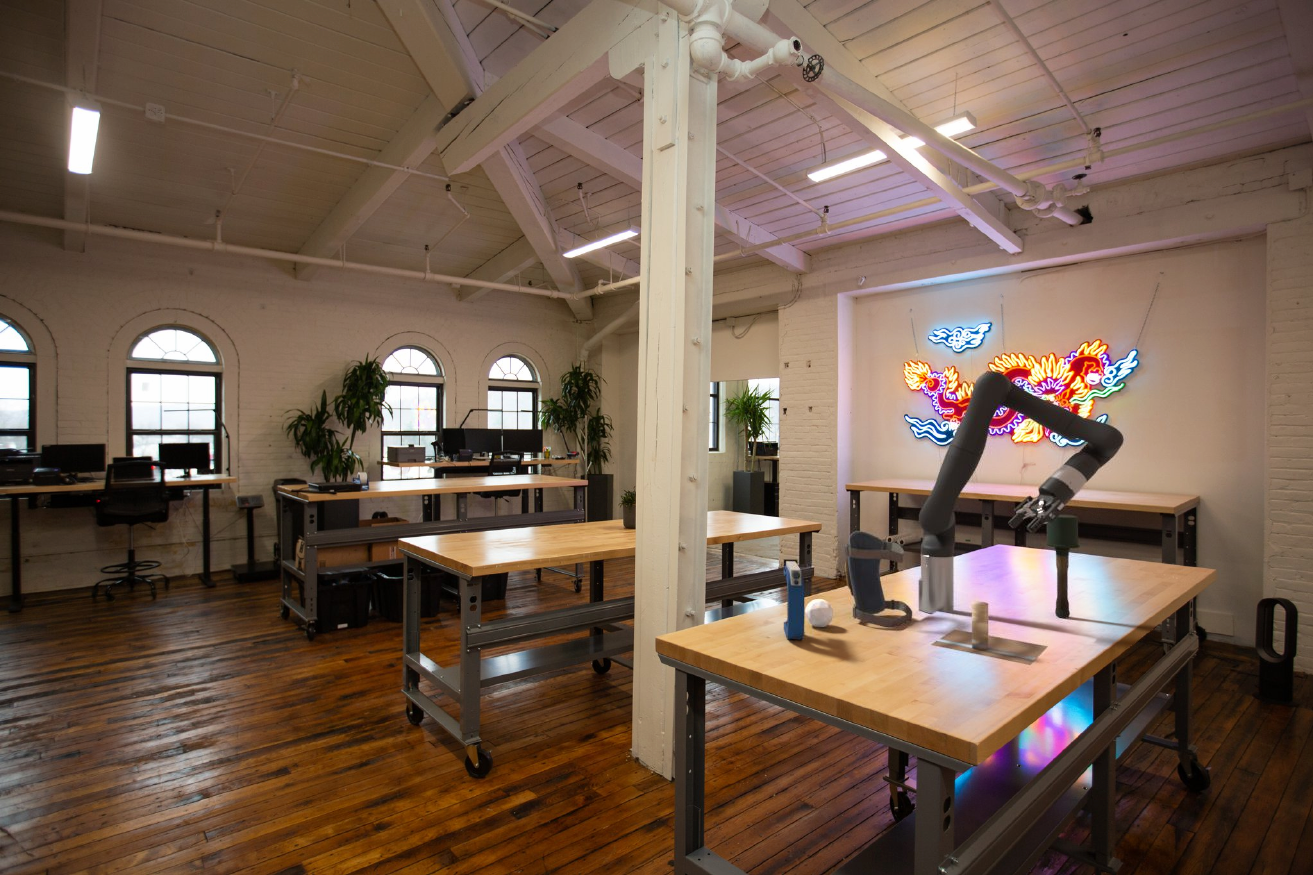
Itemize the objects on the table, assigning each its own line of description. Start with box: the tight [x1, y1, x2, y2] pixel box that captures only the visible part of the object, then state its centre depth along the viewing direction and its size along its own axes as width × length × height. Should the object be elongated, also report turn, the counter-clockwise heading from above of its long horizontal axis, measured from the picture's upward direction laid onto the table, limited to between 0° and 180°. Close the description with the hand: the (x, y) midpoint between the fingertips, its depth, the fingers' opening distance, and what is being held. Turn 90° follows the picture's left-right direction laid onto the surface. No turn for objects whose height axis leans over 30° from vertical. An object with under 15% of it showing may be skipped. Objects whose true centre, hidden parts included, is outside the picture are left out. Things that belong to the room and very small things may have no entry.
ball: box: [805, 598, 835, 628], centre depth 185 cm, size 8×8×8 cm
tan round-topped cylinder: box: [971, 600, 989, 651], centre depth 161 cm, size 4×4×11 cm
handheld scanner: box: [783, 558, 806, 640], centre depth 176 cm, size 4×16×19 cm, turn 174°
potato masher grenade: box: [1045, 514, 1080, 619], centre depth 195 cm, size 8×9×30 cm
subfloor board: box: [930, 628, 1048, 666], centre depth 163 cm, size 22×18×2 cm
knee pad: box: [843, 530, 913, 629], centre depth 193 cm, size 18×20×25 cm
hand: (1020, 528), depth 176 cm, fingers open, 8 cm apart
